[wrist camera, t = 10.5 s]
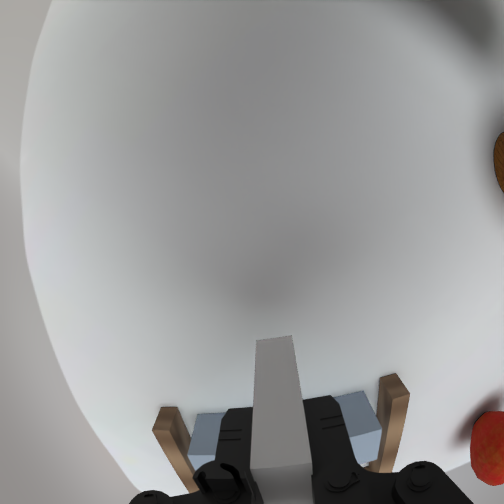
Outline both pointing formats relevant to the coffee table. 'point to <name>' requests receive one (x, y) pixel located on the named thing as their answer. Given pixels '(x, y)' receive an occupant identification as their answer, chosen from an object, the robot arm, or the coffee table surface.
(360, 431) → the t block
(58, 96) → the coffee table surface
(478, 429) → the apple
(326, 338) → the coffee table surface
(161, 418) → the walnut fence
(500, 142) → the disposable coffee cup
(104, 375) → the coffee table surface
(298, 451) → the robot arm
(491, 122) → the coffee table surface
